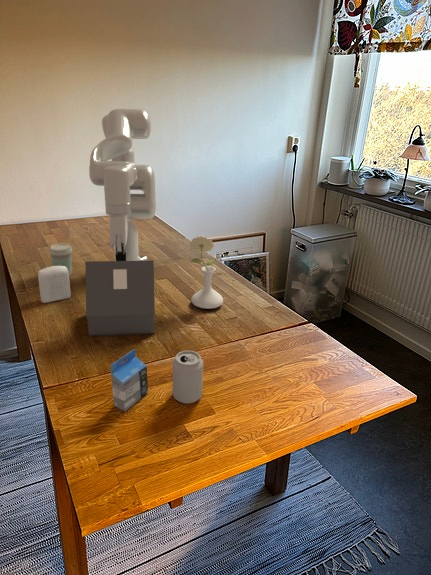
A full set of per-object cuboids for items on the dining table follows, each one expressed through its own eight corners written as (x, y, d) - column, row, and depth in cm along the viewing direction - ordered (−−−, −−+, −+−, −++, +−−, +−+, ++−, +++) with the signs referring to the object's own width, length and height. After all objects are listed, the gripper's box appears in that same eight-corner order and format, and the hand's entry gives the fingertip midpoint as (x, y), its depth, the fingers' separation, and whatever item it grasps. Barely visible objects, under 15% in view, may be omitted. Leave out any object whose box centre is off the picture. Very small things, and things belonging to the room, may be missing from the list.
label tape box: (125, 412, 109) (122, 370, 104) (112, 406, 111) (109, 364, 106) (148, 393, 116) (147, 352, 111) (136, 387, 118) (134, 347, 113)
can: (172, 387, 119) (172, 348, 113) (201, 386, 119) (202, 348, 114) (172, 406, 112) (172, 366, 107) (202, 405, 112) (204, 365, 107)
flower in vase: (228, 301, 164) (231, 235, 153) (214, 314, 155) (217, 245, 144) (196, 293, 169) (197, 229, 158) (181, 306, 159) (181, 238, 149)
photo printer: (68, 293, 165) (65, 262, 159) (72, 298, 162) (69, 266, 156) (39, 299, 160) (35, 267, 154) (43, 304, 156) (38, 271, 151)
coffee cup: (79, 273, 181) (76, 244, 176) (66, 281, 174) (62, 252, 169) (61, 269, 184) (57, 241, 178) (47, 277, 176) (43, 248, 171)
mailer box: (94, 311, 153) (92, 293, 150) (153, 309, 156) (153, 291, 153) (88, 336, 139) (87, 316, 136) (154, 333, 142) (154, 314, 139)
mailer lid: (85, 261, 137) (85, 261, 137) (153, 260, 140) (153, 260, 140) (86, 316, 136) (86, 316, 135) (154, 314, 139) (154, 314, 138)
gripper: (107, 201, 143) (110, 255, 151) (103, 215, 130) (107, 273, 138) (131, 201, 144) (133, 255, 152) (130, 215, 131) (132, 273, 139)
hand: (121, 264), depth 145 cm, fingers closed
